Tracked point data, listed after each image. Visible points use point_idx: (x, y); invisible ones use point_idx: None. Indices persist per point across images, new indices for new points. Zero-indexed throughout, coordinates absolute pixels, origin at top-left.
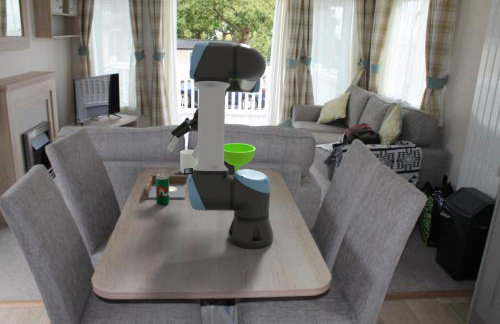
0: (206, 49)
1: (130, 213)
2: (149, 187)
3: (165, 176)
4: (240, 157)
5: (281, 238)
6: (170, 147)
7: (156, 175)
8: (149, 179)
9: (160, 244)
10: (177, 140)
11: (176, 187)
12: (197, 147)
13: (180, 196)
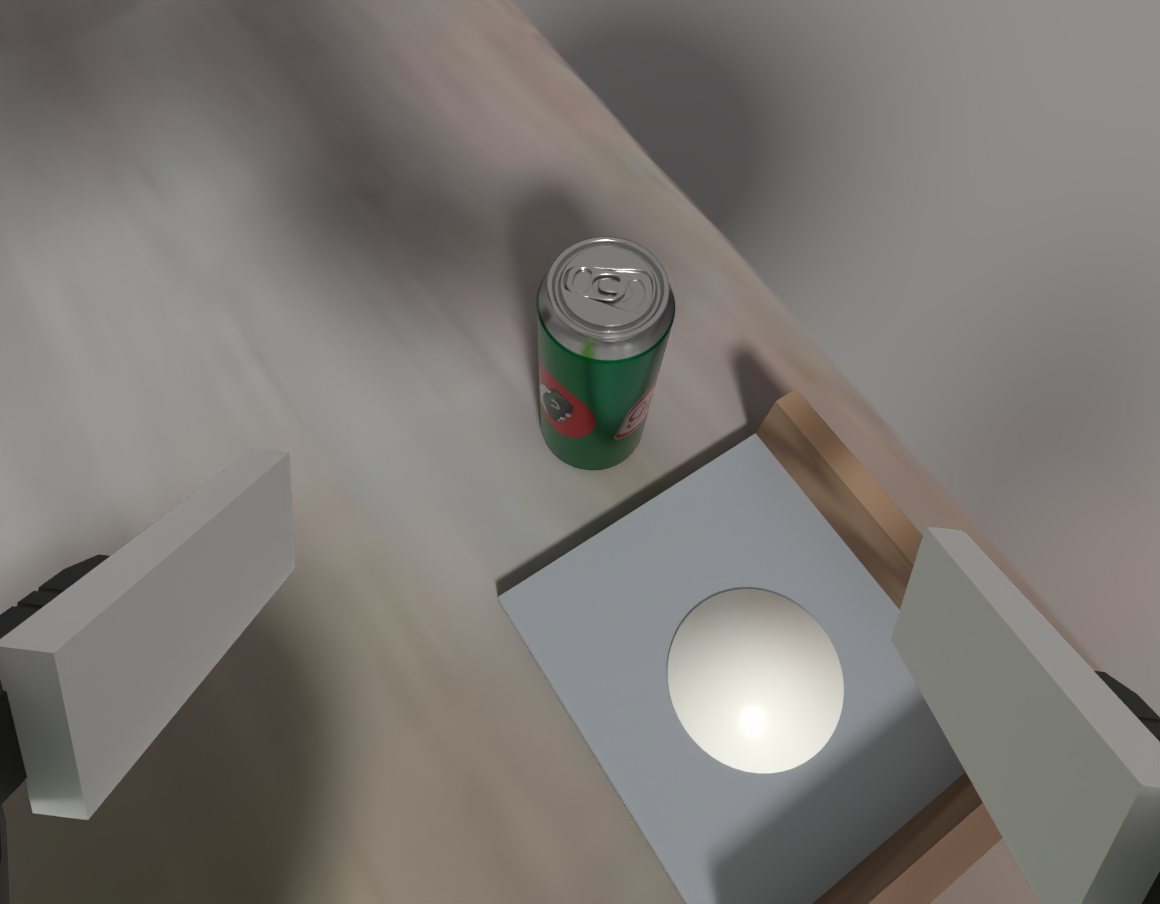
0: None
1: (655, 204)
2: (839, 496)
3: (550, 270)
4: None
5: None
6: (938, 590)
7: None
8: None
9: (253, 27)
10: (1042, 858)
11: (731, 781)
12: (139, 545)
13: (539, 589)
